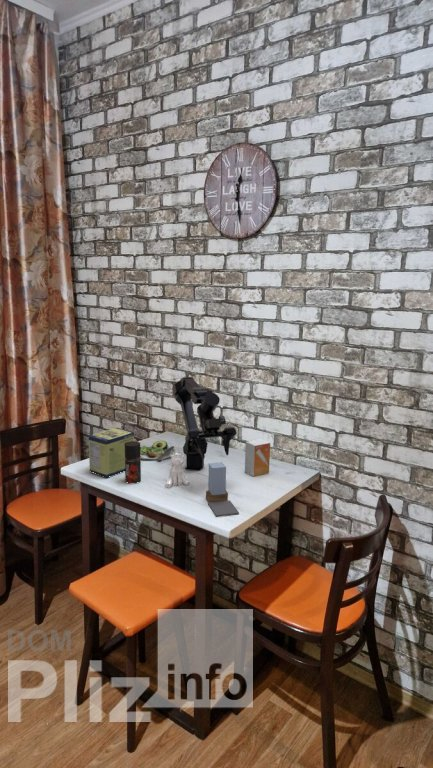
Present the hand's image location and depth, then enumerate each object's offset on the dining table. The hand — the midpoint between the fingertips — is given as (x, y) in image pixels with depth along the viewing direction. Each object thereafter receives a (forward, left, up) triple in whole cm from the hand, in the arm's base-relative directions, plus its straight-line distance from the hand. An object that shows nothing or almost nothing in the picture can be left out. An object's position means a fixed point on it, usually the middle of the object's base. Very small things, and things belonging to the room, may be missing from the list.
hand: (215, 456), depth 192 cm
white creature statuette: (-16, +3, -14) cm, 21 cm away
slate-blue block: (+2, -8, -10) cm, 13 cm away
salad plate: (-34, +34, -14) cm, 50 cm away
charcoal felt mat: (+6, -15, -13) cm, 21 cm away
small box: (+13, +21, -14) cm, 29 cm away
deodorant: (-33, +2, -14) cm, 36 cm away
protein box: (-45, +11, -14) cm, 48 cm away
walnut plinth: (+2, -8, -13) cm, 16 cm away
